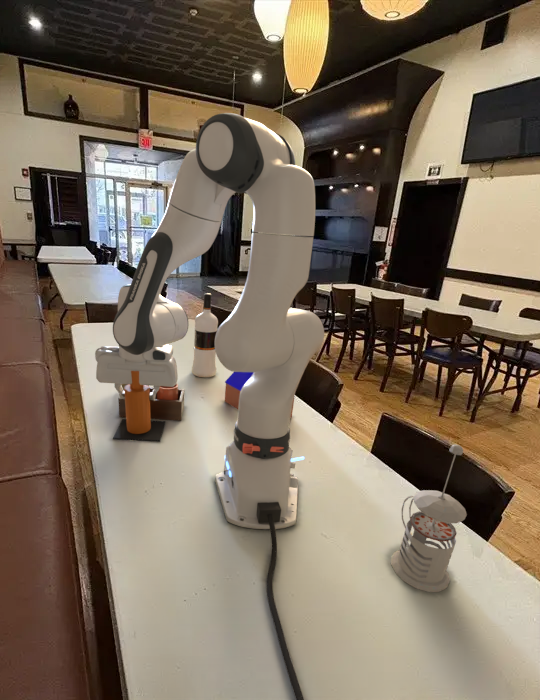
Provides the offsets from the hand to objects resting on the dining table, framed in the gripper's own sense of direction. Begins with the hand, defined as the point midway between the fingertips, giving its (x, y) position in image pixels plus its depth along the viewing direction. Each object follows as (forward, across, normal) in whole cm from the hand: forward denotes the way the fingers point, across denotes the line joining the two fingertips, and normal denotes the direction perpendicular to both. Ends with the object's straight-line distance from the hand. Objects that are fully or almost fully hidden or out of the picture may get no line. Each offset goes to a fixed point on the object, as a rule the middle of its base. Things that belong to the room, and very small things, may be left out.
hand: (137, 399), depth 108 cm
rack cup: (+9, +6, +12) cm, 16 cm away
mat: (+9, +1, 0) cm, 9 cm away
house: (+9, +34, +18) cm, 39 cm away
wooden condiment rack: (+9, +2, +12) cm, 15 cm away
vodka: (+10, +16, +46) cm, 50 cm away
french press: (+9, +58, -45) cm, 73 cm away
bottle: (+8, 0, 0) cm, 9 cm away
